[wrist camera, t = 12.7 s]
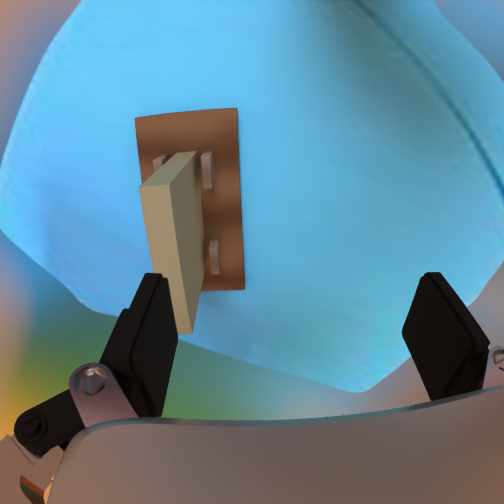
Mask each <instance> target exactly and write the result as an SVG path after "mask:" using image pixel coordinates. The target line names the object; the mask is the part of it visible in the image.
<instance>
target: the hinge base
mask: <svg viewBox="0 0 504 504" xmlns="http://www.w3.org/2000/svg"><path fill="white" fill-rule="evenodd" d="M135 127H136V137H137V147H138V155H139V164H140V172H141V179H142V184H143V183H144V182H145V181H146V180H147V179H148V178H149V177H150V176H151V175H152V174H154V173H155V172H156V171H157V170H158V169H159V168H160V167H161V166H163V165H164V164H165V163H166V162H167V161H168V160H169V159H170V158H172V157H173V156H174V155H175V154H176V153H179V152H192V151H197V154H198V167H199V180H200V192H201V203H202V214H203V224H204V234H205V244H206V253H207V264H206V268H205V273H204V278H203V283H202V287H201V291H205V290H243V289H245V278H244V257H243V236H242V215H241V192H240V169H239V145H238V121H237V108H226V109H210V110H197V111H186V112H176V113H167V114H159V115H151V116H144V117H137V118H135Z"/></svg>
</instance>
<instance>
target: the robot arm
mask: <svg viewBox="0 0 504 504" xmlns="http://www.w3.org/2000/svg"><path fill="white" fill-rule="evenodd" d="M402 336H403V339H404V341H405V343H406V345H407V347H408V349H409V352H410V354H411V356H412V358H413V360H414V362H415V365H416V367H417V369H418V372H419V374H420V376H421V379H422V381H423V383H424V385H425V388H426V390H427V392H428V395H429V397H430V400H431V401H429V402H425V403H420V404H415V405H409V406H404V407H398V408H392V409H387V410H380V411H374V412H367V413H358V414H350V415H341V416H331V417H319V418H306V419H289V420H252V421H251V420H240V421H239V420H201V419H182V418H158V417H161V416H162V412H163V407H164V402H165V398H166V393H167V388H168V383H169V378H170V373H171V369H172V365H173V360H174V356H175V351H176V347H177V343H178V332H177V327H176V322H175V316H174V311H173V305H172V300H171V294H170V288H169V282H168V278H167V277H163V275H162V274H161V273H145V275H144V277H143V279H142V281H141V283H140V286H139V288H138V290H137V292H136V294H135V296H134V299H133V301H132V303H131V305H130V308H129V309H126V308H125V309H123V310H122V312H121V314H120V316H119V318H118V320H117V322H116V325H115V327H114V329H113V332H112V334H111V336H110V338H109V340H108V343H107V345H106V347H105V350H104V352H103V354H102V357H101V359H100V362H99V363H96V362H95V363H94V362H93V363H87V364H83V365H81V366H80V367H78V368H77V369H76V370H75V371H74V372H73V373H72V374H71V376H70V378H69V383H68V385H69V389H68V390H66V391H64V392H62V393H60V394H58V395H56V396H54V397H53V398H51V399H49V400H47V401H45V402H43V403H41V404H39V405H37V406H35V407H33V408H31V409H29V410H27V411H25V412H24V413H22V414H21V415H20V416H19V417H18V419H17V421H16V423H15V426H14V434H13V435H12V436H11V437H10V436H9V435H6V437H4V438H3V439H2V440H1V441H0V504H45V502H44V498H43V497H44V491H45V489H46V488H47V487H48V486H49V485H50V484H51V483H52V486H51V489H50V493H49V497H48V501H47V504H504V347H501V346H496V347H493V348H492V349H491V350H490V351H489V349H488V345H489V344H490V341H489V340H488V338H487V336H486V335H485V334H484V332H483V330H482V329H481V327H480V326H479V324H478V323H477V322H476V320H475V319H474V317H473V316H472V314H471V313H470V312H469V310H468V309H467V307H466V306H465V305H464V303H463V302H462V300H461V299H460V298H459V296H458V295H457V294H456V292H455V291H454V290H453V288H452V287H451V286H450V284H449V283H448V282H447V281H446V279H445V278H444V277H443V275H442V274H441V273H440V272H427V273H425V274H424V276H422V277H421V278H420V281H419V284H418V287H417V290H416V293H415V296H414V299H413V302H412V304H411V307H410V310H409V313H408V315H407V318H406V321H405V323H404V326H403V329H402ZM54 475H55V476H54ZM53 476H54V479H53V481H52V480H51V478H52V477H53Z"/></svg>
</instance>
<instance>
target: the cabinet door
mask: <svg viewBox="0 0 504 504" xmlns="http://www.w3.org/2000/svg"><path fill="white" fill-rule="evenodd" d="M139 190H140V197H141V204H142V210H143V216H144V222H145V228H146V234H147V239H148V245H149V250H150V255H151V260H152V265H153V270H154V273H161V274H162V275H163V277H167V278H168V282H169V288H170V294H171V300H172V305H173V311H174V316H175V322H176V327H177V332H178V334H192V333H193V327H194V322H195V317H196V312H197V307H198V302H199V297H200V292H201V287H202V283H203V278H204V273H205V268H206V264H207V253H206V244H205V234H204V224H203V214H202V203H201V192H200V180H199V167H198V154H197V151H192V152H179V153H176V154H175V155H174V156H173V157H172V158H170V159H169V160H168V161H167V162H166V163H165V164H164V165H163V166H161V167H160V168H159V169H158V170H157V171H156V172H155V173H154V174H152V175H151V176H150V177H149V178H148V179H147V180H146V181H145V182H144V183H143V184H142V185H141V186H140V187H139Z"/></svg>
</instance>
